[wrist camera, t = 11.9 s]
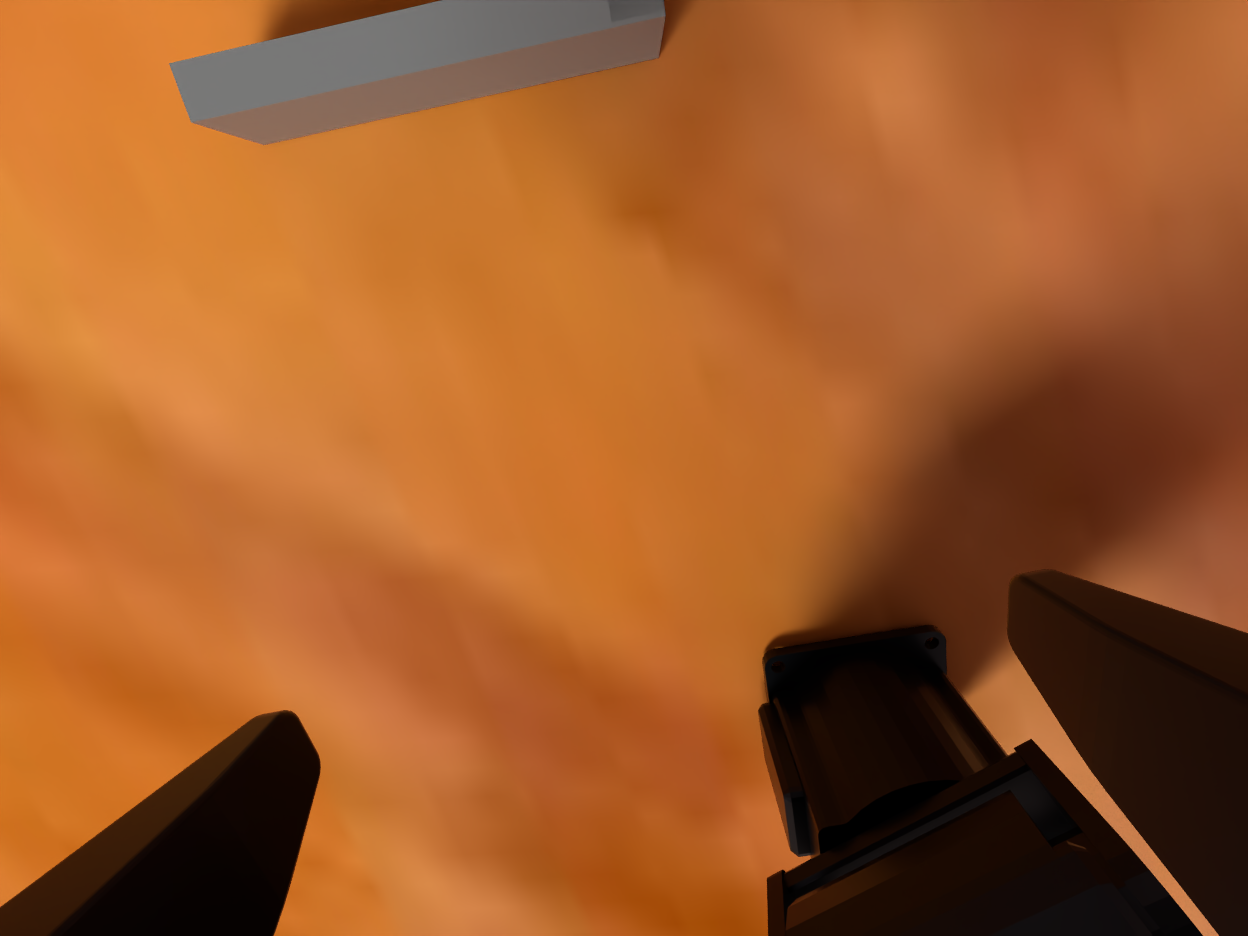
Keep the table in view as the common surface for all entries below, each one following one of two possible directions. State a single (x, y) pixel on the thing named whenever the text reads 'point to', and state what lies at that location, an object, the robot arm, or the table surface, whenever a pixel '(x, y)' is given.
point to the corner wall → (411, 62)
